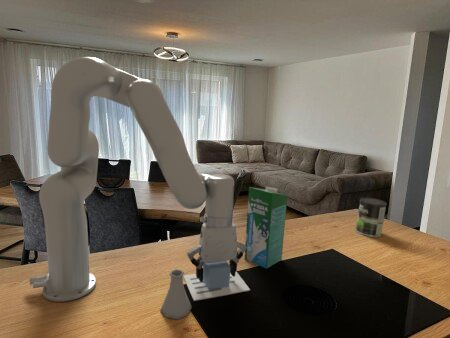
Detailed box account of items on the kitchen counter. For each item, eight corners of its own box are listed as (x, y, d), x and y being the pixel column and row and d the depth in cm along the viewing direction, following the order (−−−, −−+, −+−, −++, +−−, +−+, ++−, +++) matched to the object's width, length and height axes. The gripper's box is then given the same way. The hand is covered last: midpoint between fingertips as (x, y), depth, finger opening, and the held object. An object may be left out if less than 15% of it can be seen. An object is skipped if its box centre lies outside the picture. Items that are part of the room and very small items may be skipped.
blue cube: (208, 290, 81) (209, 269, 80) (202, 278, 87) (203, 259, 86) (229, 286, 83) (230, 266, 82) (221, 275, 89) (222, 256, 88)
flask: (196, 307, 74) (198, 271, 72) (177, 324, 68) (178, 284, 66) (174, 297, 78) (175, 262, 76) (154, 312, 72) (154, 274, 70)
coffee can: (364, 237, 123) (368, 204, 120) (351, 227, 133) (355, 197, 130) (387, 237, 124) (392, 205, 122) (372, 227, 134) (377, 197, 132)
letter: (193, 301, 77) (193, 299, 77) (183, 276, 88) (183, 275, 88) (250, 290, 82) (250, 289, 82) (233, 268, 93) (233, 267, 93)
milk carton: (281, 259, 101) (288, 188, 96) (266, 269, 94) (272, 192, 89) (260, 250, 107) (265, 182, 102) (244, 258, 100) (248, 186, 95)
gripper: (191, 227, 75) (190, 289, 78) (253, 221, 81) (249, 278, 84) (184, 217, 82) (183, 274, 85) (242, 212, 88) (239, 265, 91)
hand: (216, 276), depth 85 cm, fingers open, 9 cm apart
